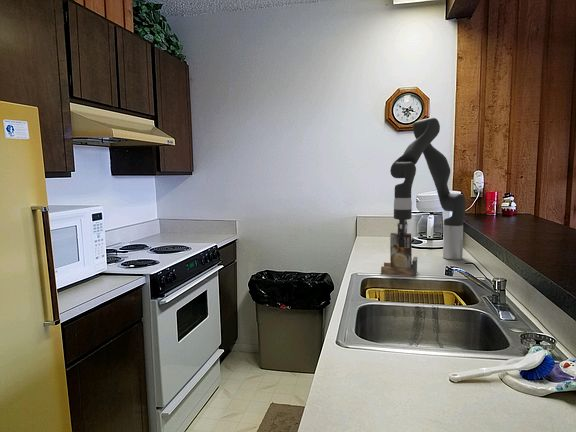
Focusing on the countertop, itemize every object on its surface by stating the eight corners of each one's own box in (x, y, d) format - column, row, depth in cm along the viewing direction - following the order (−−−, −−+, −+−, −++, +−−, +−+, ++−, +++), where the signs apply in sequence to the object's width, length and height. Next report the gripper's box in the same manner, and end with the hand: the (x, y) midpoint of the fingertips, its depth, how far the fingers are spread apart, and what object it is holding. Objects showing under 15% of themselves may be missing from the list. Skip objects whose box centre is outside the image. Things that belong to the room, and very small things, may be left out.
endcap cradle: (417, 271, 180) (417, 256, 179) (415, 276, 171) (415, 261, 171) (384, 269, 185) (384, 254, 185) (381, 273, 177) (381, 258, 176)
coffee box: (411, 268, 180) (412, 233, 178) (411, 272, 174) (412, 235, 172) (390, 267, 182) (390, 232, 181) (389, 270, 176) (390, 234, 175)
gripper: (410, 209, 167) (409, 249, 169) (412, 206, 181) (412, 243, 182) (391, 209, 170) (391, 248, 172) (395, 206, 183) (395, 242, 185)
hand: (402, 245), depth 177 cm, fingers closed on coffee box, 6 cm apart
